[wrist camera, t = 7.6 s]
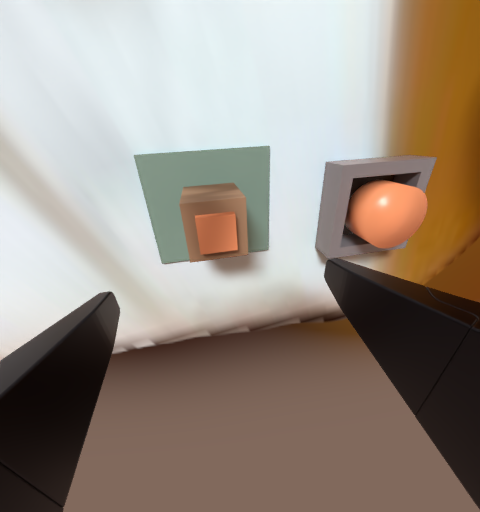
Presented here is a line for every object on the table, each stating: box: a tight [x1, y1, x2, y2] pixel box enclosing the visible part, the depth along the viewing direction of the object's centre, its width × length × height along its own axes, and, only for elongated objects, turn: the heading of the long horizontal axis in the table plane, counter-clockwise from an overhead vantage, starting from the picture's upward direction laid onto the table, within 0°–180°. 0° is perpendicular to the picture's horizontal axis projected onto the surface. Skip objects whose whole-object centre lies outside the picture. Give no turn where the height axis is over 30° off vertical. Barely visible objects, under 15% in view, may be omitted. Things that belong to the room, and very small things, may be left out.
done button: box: [345, 179, 427, 249], centre depth 18 cm, size 5×5×3 cm
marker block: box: [179, 183, 248, 262], centre depth 16 cm, size 4×4×6 cm
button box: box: [315, 155, 437, 259], centre depth 20 cm, size 8×8×2 cm
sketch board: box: [134, 146, 270, 264], centre depth 19 cm, size 10×9×1 cm
